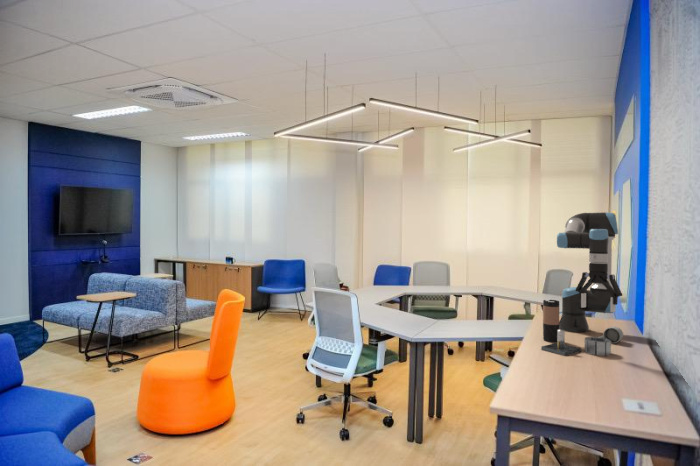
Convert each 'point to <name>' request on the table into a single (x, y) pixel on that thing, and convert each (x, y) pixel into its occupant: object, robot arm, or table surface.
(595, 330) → the table surface
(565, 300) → the robot arm
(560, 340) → the shaft block
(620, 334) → the ceramic mug
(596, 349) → the ring
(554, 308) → the travel mug
